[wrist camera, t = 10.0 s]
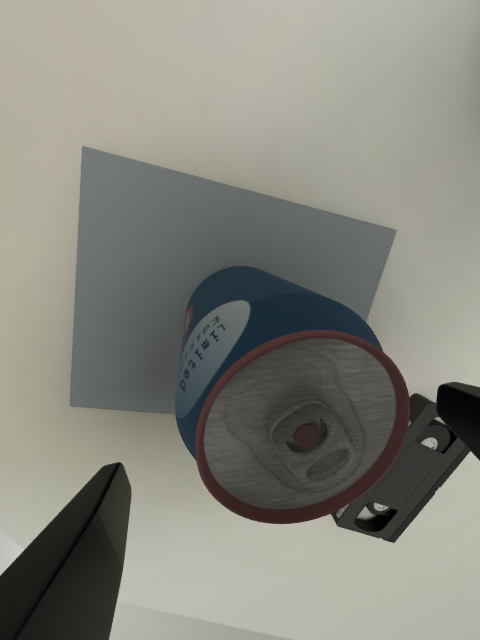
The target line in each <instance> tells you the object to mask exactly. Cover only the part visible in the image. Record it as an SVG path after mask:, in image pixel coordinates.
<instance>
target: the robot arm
mask: <svg viewBox="0 0 480 640" xmlns="http://www.w3.org/2000/svg"><path fill="white" fill-rule="evenodd" d="M436 411H437V414H438V415H439V417H440V418H441V419H442V420H443V421H444V423H445V424H446V425H447V426H448V427H449V428H450V429H451V430H452V431H453V432H454V433H455V434H456V436H457V437H458V438H459V439H460V440H461V441H462V442H463V443H464V444H465V445H466V446H467V447H468V449H469V450H470V451H471V452H472V453H473V454H474V455H475V456H476V457H477V458H478V459H479V460H480V387H476V386H472V385H467V384H463V383H458V382H449V383H445V384H442V385H440V386H439V387H438V391H437V401H436ZM130 504H131V486H130V483H129V480H128V477H127V474H126V471H125V469H124V466H123V464H122V463H120V462H117V463H113V464H109V465H105V466H103V467H102V468H101V469H100V470H99V471H98V472H97V473H96V474H95V475H94V476H93V477H92V479H91V480H90V481H89V482H88V483H87V484H86V485H85V486H84V487H83V488H82V489H81V490H80V491H79V492H78V493H77V495H76V496H75V497H74V498H73V499H72V500H71V501H70V502H69V503H68V504H67V505H66V506H65V507H64V508H63V509H62V511H61V512H60V513H59V514H58V515H57V516H56V517H55V518H54V519H53V520H52V521H51V522H50V523H49V524H48V525H47V527H46V528H45V529H44V530H43V531H42V532H41V533H40V534H39V535H38V536H37V537H36V538H35V539H34V540H33V541H32V542H31V544H30V545H29V546H28V547H27V548H26V549H25V550H24V551H23V552H22V553H21V554H20V556H19V557H17V558H16V560H15V561H14V562H13V563H12V564H11V565H10V566H9V567H8V568H7V569H6V570H5V571H4V572H3V573H2V574H1V576H0V640H109V637H110V632H111V627H112V622H113V617H114V612H115V607H116V603H117V598H118V593H119V588H120V583H121V577H122V572H123V565H124V558H125V549H126V540H127V531H128V522H129V513H130Z"/></svg>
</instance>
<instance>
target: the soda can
mask: <svg viewBox="0 0 480 640" xmlns="http://www.w3.org/2000/svg"><path fill="white" fill-rule="evenodd" d="M175 413H176V420H177V425H178V429H179V432H180V435H181V437H182V440H183V442H184V444H185V445H186V447H187V449H188V450H189V452H190V453H191V455H192V456H193V457H194V458H195V460H196V461H197V465H198V470H199V473H200V476H201V478H202V480H203V482H204V484H205V486H206V488H207V489H208V491H209V492H210V493H211V494H212V496H213V497H214V498H215V499H216V500H217V501H218V502H220V503H221V504H222V505H223V506H225V507H226V508H227V509H229V510H230V511H232V512H234V513H236V514H238V515H240V516H242V517H245V518H247V519H251V520H254V521H258V522H264V523H272V524H291V523H299V522H305V521H309V520H313V519H317V518H320V517H323V516H326V515H328V514H331V513H333V512H335V511H338V510H340V509H342V508H343V507H345V506H347V505H349V504H350V503H352V502H354V501H355V500H357V499H358V498H359V497H361V496H362V495H363V494H365V493H366V492H367V491H368V490H369V489H371V488H372V487H373V486H374V485H375V484H376V483H377V482H378V481H379V480H380V479H381V478H382V476H383V475H384V474H385V473H386V472H387V470H388V469H389V468H390V466H391V465H392V463H393V462H394V460H395V459H396V457H397V455H398V453H399V451H400V449H401V447H402V445H403V442H404V440H405V436H406V433H407V429H408V425H409V419H410V400H409V394H408V390H407V386H406V383H405V381H404V378H403V376H402V374H401V373H400V371H399V369H398V368H397V366H396V365H395V364H394V362H393V361H392V360H391V359H390V358H389V357H388V356H387V355H386V354H385V353H384V352H383V350H382V348H381V345H380V343H379V341H378V339H377V337H376V336H375V334H374V332H373V331H372V329H371V328H370V327H369V325H368V324H367V323H366V322H365V321H364V320H363V319H362V318H361V317H360V316H359V315H358V314H357V313H355V312H354V311H353V310H351V309H350V308H348V307H347V306H345V305H343V304H341V303H339V302H337V301H335V300H332V299H330V298H328V297H325V296H323V295H320V294H318V293H316V292H313V291H311V290H308V289H306V288H304V287H301V286H299V285H296V284H294V283H292V282H289V281H287V280H284V279H282V278H280V277H277V276H275V275H273V274H270V273H268V272H265V271H263V270H260V269H258V268H254V267H249V266H234V267H229V268H225V269H222V270H220V271H217V272H215V273H213V274H212V275H210V276H209V277H207V278H206V279H205V280H204V281H203V282H202V283H201V284H200V285H199V286H198V287H197V288H196V290H195V291H194V293H193V294H192V296H191V298H190V300H189V303H188V306H187V309H186V316H185V324H184V332H183V340H182V348H181V356H180V364H179V372H178V380H177V388H176V396H175Z"/></svg>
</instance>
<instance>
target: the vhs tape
mask: <svg viewBox="0 0 480 640" xmlns="http://www.w3.org/2000/svg"><path fill="white" fill-rule="evenodd" d="M409 400H410V419H409V425H408V429H407V433H406V436H405V440H404V442H403V445H402V447H401V449H400V451H399V453H398V455H397V457H396V459H395V460H394V462H393V463H392V465H391V466H390V468H389V469H388V470H387V472H386V473H385V474H384V475H383V476H382V478H381V479H380V480H379V481H378V482H377V483H376V484H375V485H374V486H373V487H372V488H371V489H369V490H368V491H367V492H366V493H365V494H363V495H362V496H361V497H359V498H358V499H357V500H355V501H354V502H352V503H350V504H349V505H347V506H345V507H343V508H342V509H340V510H338V511H335V512H333V513H331V515H332V517H333V518H334V520H335V522H336V524H337V526H338V527H342V528H345V529H349V530H352V531H356V532H359V533H363V534H366V535H370V536H373V537H377V538H382V539H383V540H386V541H389V542H393V543H395V541H396V540H397V539H398V538H399V537H400V535H401V534H402V533H403V532H404V530H405V529H406V528H407V527H408V526H409V524H410V523H411V522H412V521H413V520H414V518H415V517H416V516H417V515H418V514H419V512H420V511H421V510H422V509H423V508H424V506H425V505H426V504H427V503H428V502H429V500H430V499H431V498H432V497H433V496H434V494H435V492H436V491H437V489H438V488H439V487H441V486H442V485H443V484H444V482H445V481H446V480H447V479H448V477H449V476H450V475H451V474H452V473H453V471H454V470H455V469H456V468H457V467H458V465H459V464H460V463H461V462H462V461H463V459H464V458H465V457H466V456H467V455H468V453H469V452H470V450H469V449H468V447H467V446H466V445H465V444H464V443H463V442H462V441H461V440H460V439H459V438H458V437H457V436H456V434H455V433H454V432H453V431H452V430H451V429H450V428H449V427H448V426H446V425H444V424H442V423H440V422H438V421H437V420H435V419H434V418H436V417H439V415H438V414H437V411H436V403H434V402H432V401H430V400H428V399H426V398H425V397H423V396H421V395H419V394H417V393H416V394H413V395H412V396H411V397H410V398H409ZM446 428H447V429H449V430H450V431H449V432H448V430H447V429H446ZM365 506H366V507H367V508H368V510H369V511H370V513H372V514H376V515H385V518H386V520H387V523H386V524H385V525H382V524H379V523H376V522H373V521H372V523H370V522H366V521H363V520H360V519H357V516H358V515H359V514H360V512H361V511H362V510H363V508H364V507H365ZM391 508H392V509H395V510H396V512H394V511H393V510H392V509H391ZM379 525H380V526H379Z"/></svg>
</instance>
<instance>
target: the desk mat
mask: <svg viewBox="0 0 480 640" xmlns="http://www.w3.org/2000/svg"><path fill="white" fill-rule="evenodd" d="M396 231H397V230H394V229H390V228H386V227H383V226H379V225H375V224H371V223H368V222H364V221H360V220H356V219H353V218H349V217H345V216H341V215H338V214H334V213H330V212H327V211H323V210H319V209H315V208H312V207H308V206H304V205H300V204H297V203H293V202H289V201H285V200H282V199H278V198H274V197H271V196H267V195H263V194H259V193H256V192H252V191H248V190H244V189H241V188H237V187H233V186H229V185H226V184H222V183H218V182H215V181H211V180H207V179H203V178H200V177H196V176H192V175H188V174H185V173H181V172H177V171H173V170H170V169H166V168H162V167H159V166H155V165H151V164H147V163H144V162H140V161H136V160H132V159H129V158H125V157H121V156H117V155H114V154H110V153H106V152H103V151H99V150H95V149H91V148H88V147H84V146H82V164H81V184H80V205H79V226H78V247H77V267H76V288H75V309H74V330H73V350H72V371H71V392H70V406H73V407H86V408H100V409H114V410H128V411H141V412H155V413H169V414H176V413H175V396H176V388H177V380H178V372H179V364H180V356H181V348H182V340H183V332H184V324H185V316H186V309H187V306H188V303H189V300H190V298H191V296H192V294H193V293H194V291H195V290H196V288H197V287H198V286H199V285H200V284H201V283H202V282H203V281H204V280H205V279H206V278H207V277H209V276H210V275H212V274H213V273H215V272H217V271H220V270H222V269H225V268H229V267H234V266H249V267H254V268H258V269H260V270H263V271H265V272H268V273H270V274H273V275H275V276H277V277H280V278H282V279H284V280H287V281H289V282H292V283H294V284H296V285H299V286H301V287H304V288H306V289H308V290H311V291H313V292H316V293H318V294H320V295H323V296H325V297H328V298H330V299H332V300H335V301H337V302H339V303H341V304H343V305H345V306H347V307H348V308H350V309H351V310H353V311H354V312H355V313H357V314H358V315H359V316H360V317H361V318H362V319H363V320H364V321H365V322H366V319H367V316H368V313H369V310H370V307H371V304H372V302H373V299H374V296H375V293H376V290H377V287H378V284H379V281H380V278H381V275H382V272H383V269H384V266H385V263H386V260H387V257H388V254H389V251H390V248H391V246H392V243H393V240H394V237H395V234H396Z"/></svg>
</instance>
